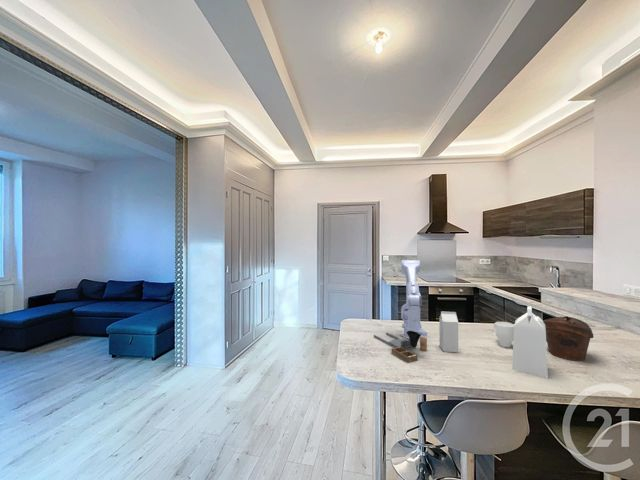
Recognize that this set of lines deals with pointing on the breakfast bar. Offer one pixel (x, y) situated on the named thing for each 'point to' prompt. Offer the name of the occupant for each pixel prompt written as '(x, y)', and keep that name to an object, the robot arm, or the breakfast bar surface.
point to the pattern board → (390, 343)
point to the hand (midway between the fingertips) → (414, 346)
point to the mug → (504, 333)
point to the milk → (530, 345)
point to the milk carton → (448, 331)
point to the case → (568, 337)
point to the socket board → (404, 354)
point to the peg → (423, 344)
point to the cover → (401, 343)
